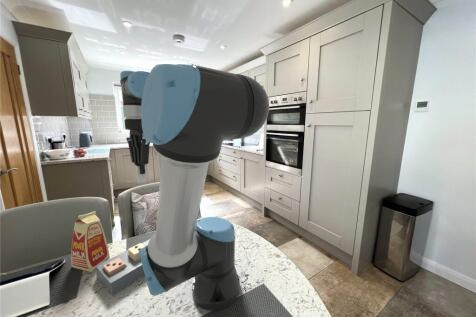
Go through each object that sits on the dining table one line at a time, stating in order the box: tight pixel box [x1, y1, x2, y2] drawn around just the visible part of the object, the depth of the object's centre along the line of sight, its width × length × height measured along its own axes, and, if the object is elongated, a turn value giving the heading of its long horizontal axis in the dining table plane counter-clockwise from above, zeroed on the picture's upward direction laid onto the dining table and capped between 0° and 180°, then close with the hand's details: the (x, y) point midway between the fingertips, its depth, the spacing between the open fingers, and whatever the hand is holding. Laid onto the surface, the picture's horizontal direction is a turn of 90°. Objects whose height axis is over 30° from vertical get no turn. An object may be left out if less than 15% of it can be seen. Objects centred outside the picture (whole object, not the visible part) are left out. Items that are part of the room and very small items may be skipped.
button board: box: [95, 238, 150, 297], centre depth 72 cm, size 12×23×4 cm, turn 144°
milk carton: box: [70, 210, 111, 273], centre depth 73 cm, size 9×9×20 cm
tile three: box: [103, 258, 126, 277], centre depth 65 cm, size 5×5×3 cm
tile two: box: [127, 242, 145, 262], centre depth 71 cm, size 5×5×3 cm
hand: (141, 181), depth 73 cm, fingers closed
